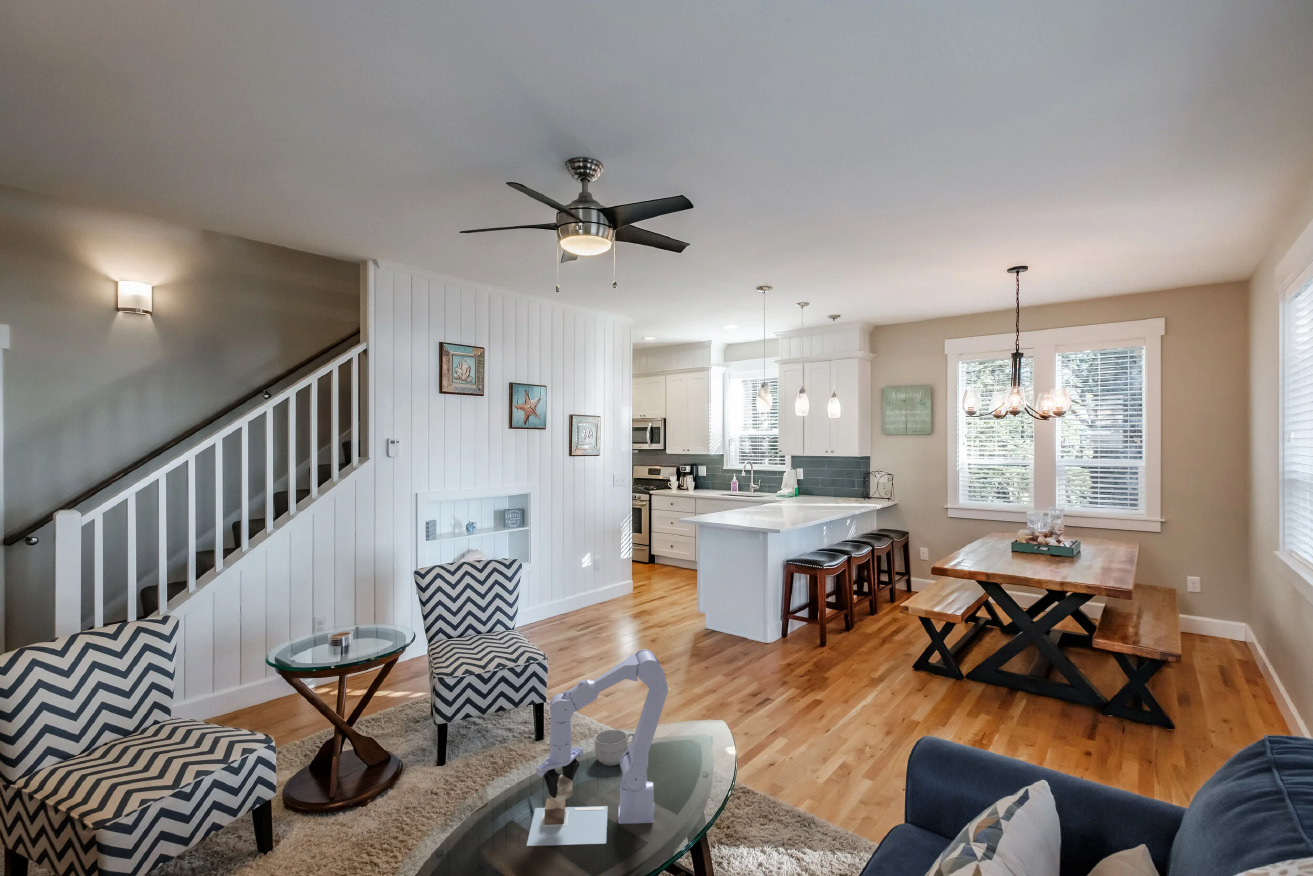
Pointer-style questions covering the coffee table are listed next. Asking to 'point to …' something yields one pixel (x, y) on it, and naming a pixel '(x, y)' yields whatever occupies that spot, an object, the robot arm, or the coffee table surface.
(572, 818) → the board
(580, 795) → the coffee table surface
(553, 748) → the robot arm
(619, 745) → the teacup
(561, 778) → the maple block
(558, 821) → the walnut base
